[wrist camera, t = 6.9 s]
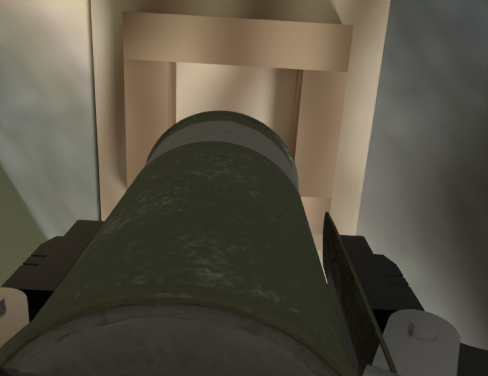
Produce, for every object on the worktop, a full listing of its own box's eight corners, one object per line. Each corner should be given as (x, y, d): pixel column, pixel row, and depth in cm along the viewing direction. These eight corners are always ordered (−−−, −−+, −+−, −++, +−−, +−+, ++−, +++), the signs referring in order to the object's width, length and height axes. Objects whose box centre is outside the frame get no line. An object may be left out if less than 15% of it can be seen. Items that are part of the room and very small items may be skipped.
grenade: (150, 257, 19) (-129, 933, 5) (137, 110, 17) (-403, 547, 3) (305, 256, 19) (471, 940, 5) (310, 108, 17) (621, 547, 3)
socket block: (389, -20, 28) (411, -27, 24) (350, 246, 34) (363, 274, 30) (92, -38, 28) (68, -47, 24) (105, 233, 34) (87, 259, 30)
